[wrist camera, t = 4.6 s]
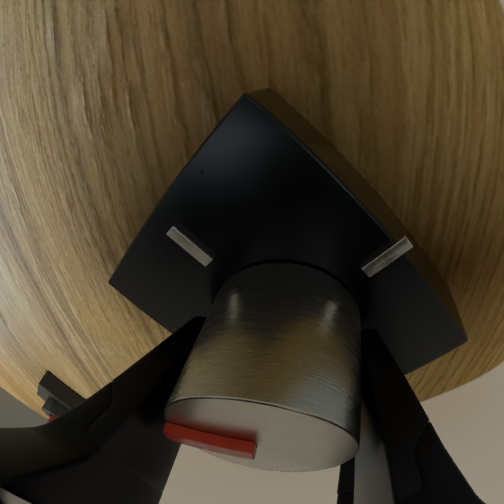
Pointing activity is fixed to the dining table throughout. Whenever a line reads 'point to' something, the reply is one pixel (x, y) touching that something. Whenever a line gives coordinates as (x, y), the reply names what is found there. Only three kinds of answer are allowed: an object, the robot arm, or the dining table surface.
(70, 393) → the button block
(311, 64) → the dining table surface
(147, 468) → the robot arm
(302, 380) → the dial
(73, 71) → the dining table surface
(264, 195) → the dial panel
